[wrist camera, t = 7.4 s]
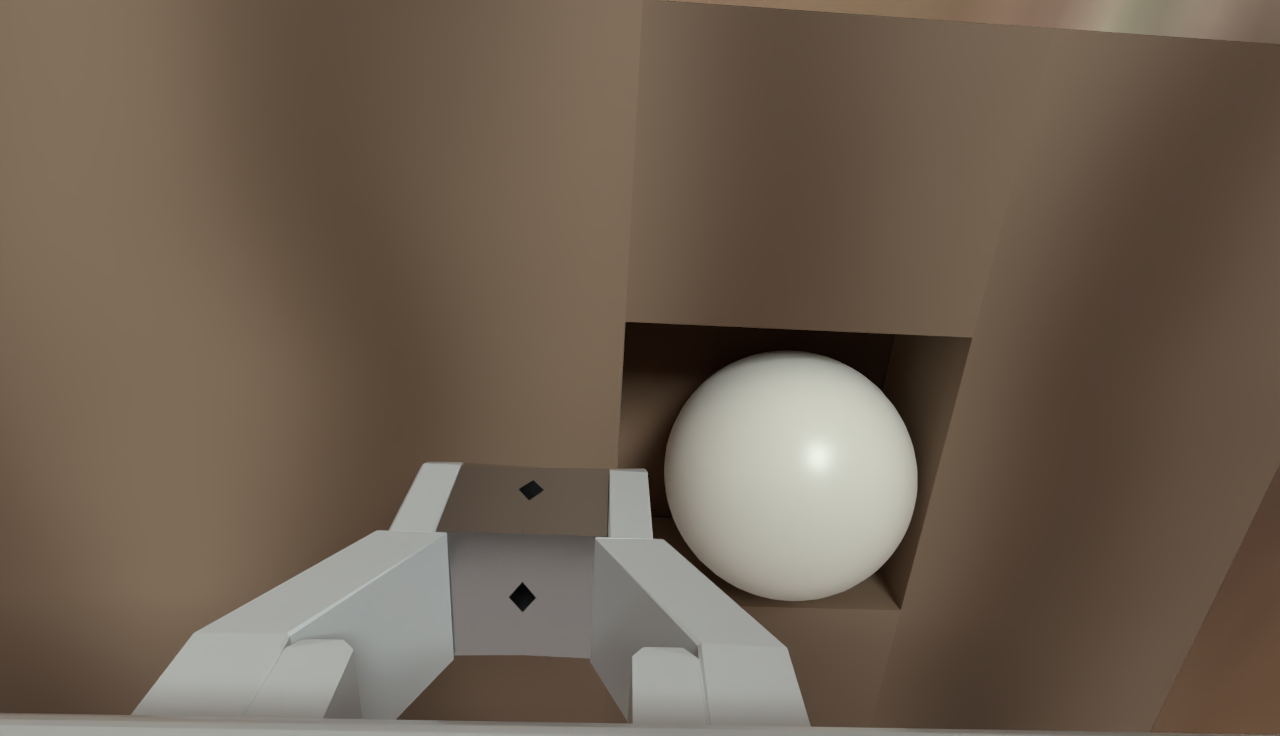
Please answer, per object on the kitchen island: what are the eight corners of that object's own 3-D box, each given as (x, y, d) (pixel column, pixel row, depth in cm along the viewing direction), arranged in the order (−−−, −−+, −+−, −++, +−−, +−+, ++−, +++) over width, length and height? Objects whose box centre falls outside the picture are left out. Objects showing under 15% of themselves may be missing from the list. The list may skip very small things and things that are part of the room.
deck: (1295, 62, 11) (1476, 58, 9) (1055, 674, 16) (1129, 774, 14) (-798, -84, 9) (-1262, -137, 7) (-332, 648, 14) (-513, 757, 12)
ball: (813, 307, 13) (1004, 389, 10) (783, 487, 15) (942, 609, 11) (627, 332, 11) (789, 444, 8) (616, 536, 13) (749, 697, 9)
